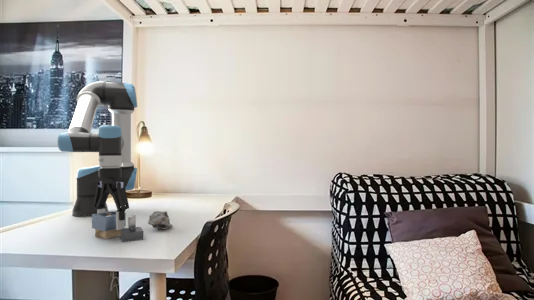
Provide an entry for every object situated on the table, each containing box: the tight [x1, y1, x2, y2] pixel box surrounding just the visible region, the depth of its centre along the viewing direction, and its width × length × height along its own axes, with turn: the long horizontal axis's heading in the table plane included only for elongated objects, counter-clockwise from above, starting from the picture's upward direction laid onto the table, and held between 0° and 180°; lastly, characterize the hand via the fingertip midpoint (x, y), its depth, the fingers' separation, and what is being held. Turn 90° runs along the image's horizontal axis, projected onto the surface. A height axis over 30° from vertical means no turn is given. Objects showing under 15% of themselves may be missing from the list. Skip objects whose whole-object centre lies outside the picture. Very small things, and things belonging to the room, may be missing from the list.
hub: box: [120, 214, 145, 243], centre depth 109 cm, size 7×7×8 cm
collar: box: [91, 210, 127, 231], centre depth 113 cm, size 8×8×5 cm
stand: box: [94, 213, 121, 240], centre depth 113 cm, size 6×6×8 cm
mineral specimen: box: [147, 210, 173, 230], centre depth 123 cm, size 10×8×10 cm
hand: (110, 227), depth 112 cm, fingers open, 11 cm apart
